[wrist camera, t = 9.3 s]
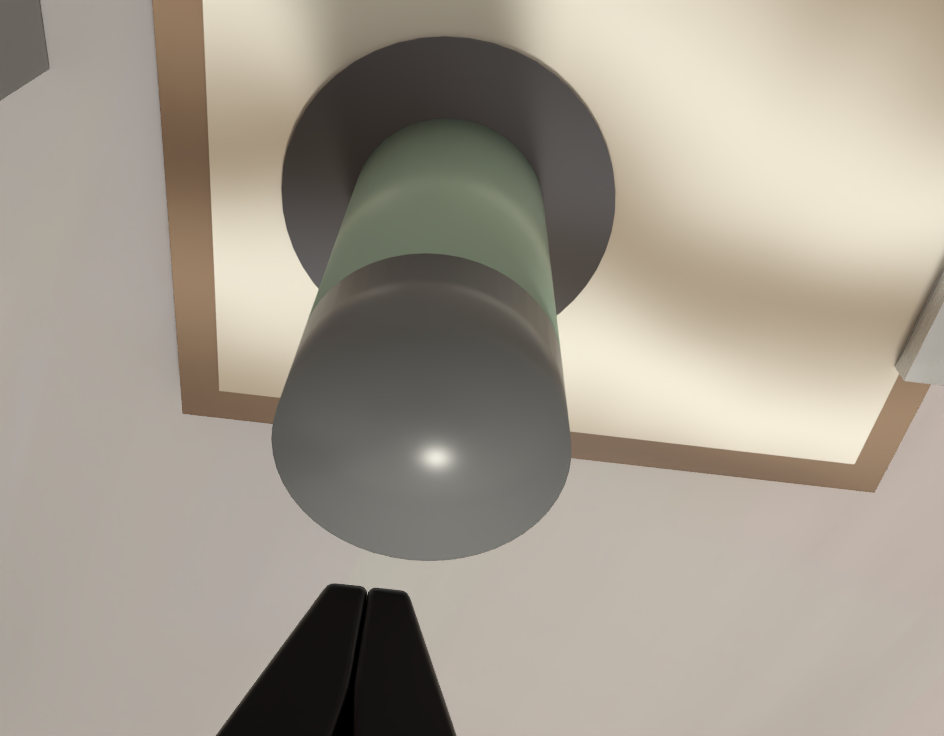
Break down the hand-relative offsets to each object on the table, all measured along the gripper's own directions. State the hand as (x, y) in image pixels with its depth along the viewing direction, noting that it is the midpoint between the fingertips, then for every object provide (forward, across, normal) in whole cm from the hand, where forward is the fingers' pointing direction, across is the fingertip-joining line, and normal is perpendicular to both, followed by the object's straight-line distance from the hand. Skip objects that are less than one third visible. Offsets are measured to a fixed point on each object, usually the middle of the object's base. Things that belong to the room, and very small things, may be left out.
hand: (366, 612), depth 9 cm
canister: (+11, 0, 0) cm, 11 cm away
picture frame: (+12, -3, 0) cm, 12 cm away
